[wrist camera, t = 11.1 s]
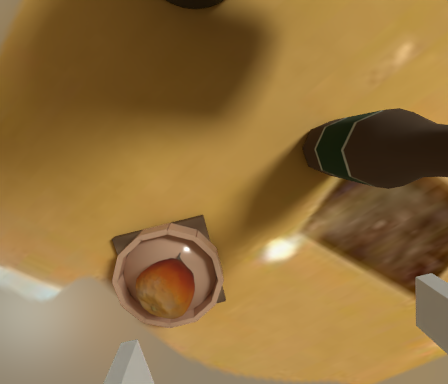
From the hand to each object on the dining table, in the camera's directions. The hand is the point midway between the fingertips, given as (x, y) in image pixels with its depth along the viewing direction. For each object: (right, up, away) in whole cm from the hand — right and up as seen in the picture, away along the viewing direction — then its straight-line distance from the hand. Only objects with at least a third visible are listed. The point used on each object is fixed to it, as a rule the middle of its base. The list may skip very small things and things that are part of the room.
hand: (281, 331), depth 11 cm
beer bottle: (+13, +13, +24) cm, 30 cm away
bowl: (-11, -6, +25) cm, 28 cm away
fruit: (-11, -6, +24) cm, 27 cm away
